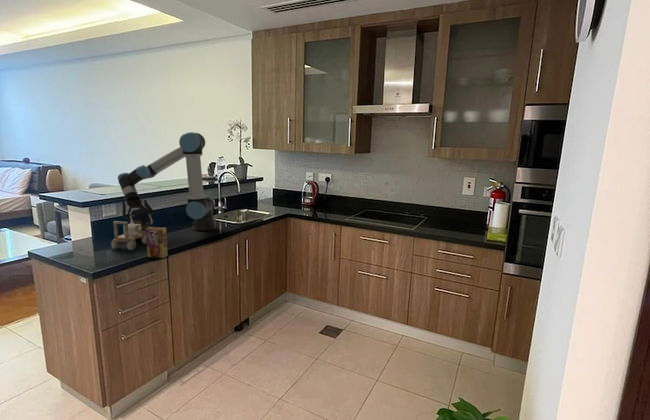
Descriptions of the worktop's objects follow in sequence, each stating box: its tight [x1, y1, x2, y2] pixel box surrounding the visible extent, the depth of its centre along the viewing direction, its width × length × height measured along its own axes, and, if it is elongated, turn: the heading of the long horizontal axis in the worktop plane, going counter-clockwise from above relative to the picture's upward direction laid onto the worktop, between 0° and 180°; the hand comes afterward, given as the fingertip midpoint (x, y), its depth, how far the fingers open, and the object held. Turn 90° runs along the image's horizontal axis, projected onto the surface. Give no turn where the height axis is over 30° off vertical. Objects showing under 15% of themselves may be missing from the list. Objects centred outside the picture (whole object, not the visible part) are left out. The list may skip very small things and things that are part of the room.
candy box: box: [146, 226, 169, 259], centre depth 178 cm, size 9×4×15 cm, turn 86°
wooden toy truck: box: [110, 220, 147, 251], centre depth 193 cm, size 18×11×16 cm, turn 172°
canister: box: [130, 208, 151, 240], centre depth 208 cm, size 10×10×18 cm
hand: (142, 224), depth 206 cm, fingers open, 10 cm apart
